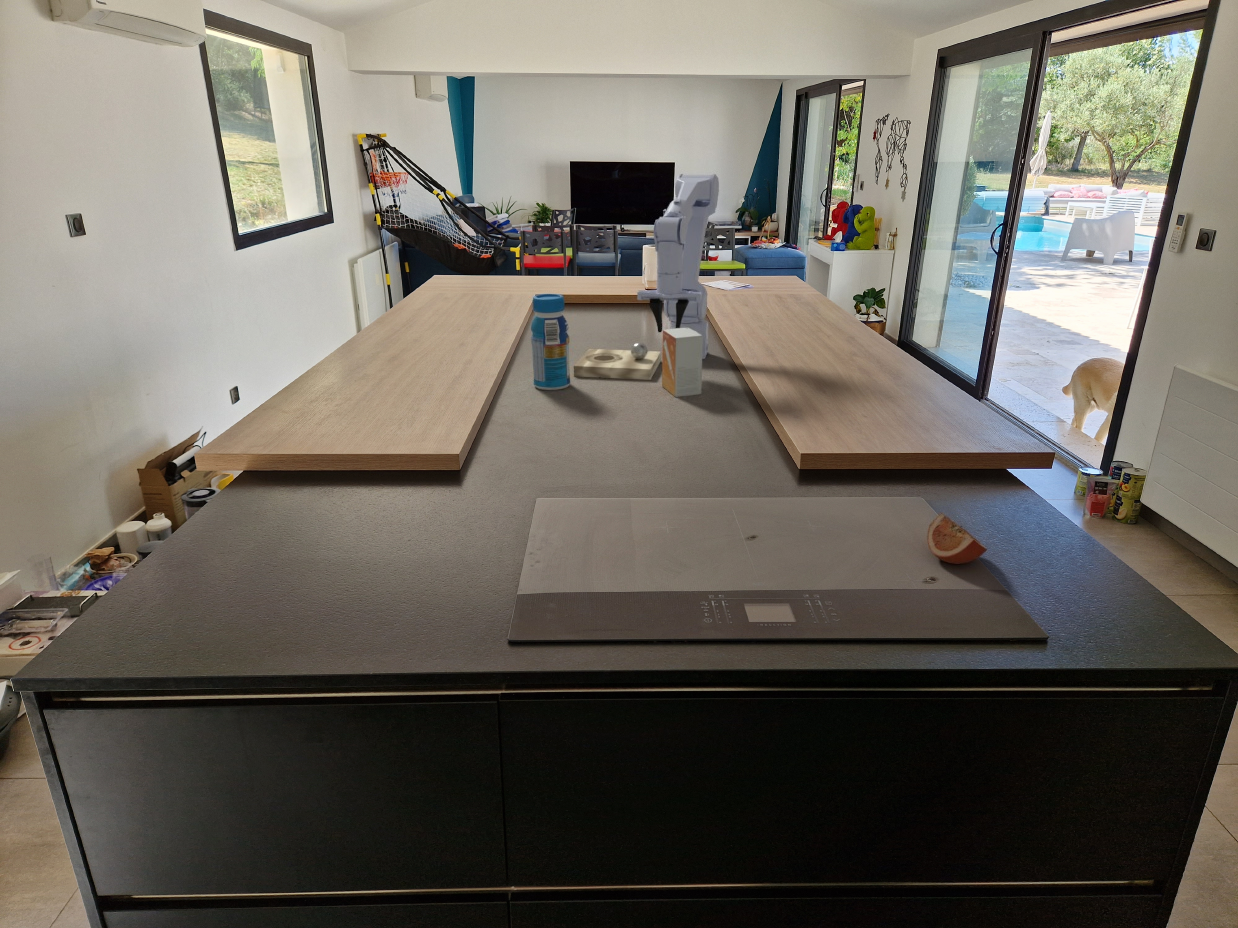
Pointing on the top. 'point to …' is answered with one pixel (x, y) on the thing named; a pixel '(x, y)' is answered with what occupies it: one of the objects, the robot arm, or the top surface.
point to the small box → (682, 361)
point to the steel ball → (639, 351)
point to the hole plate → (616, 364)
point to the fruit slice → (952, 541)
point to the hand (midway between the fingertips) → (668, 331)
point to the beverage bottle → (550, 343)
